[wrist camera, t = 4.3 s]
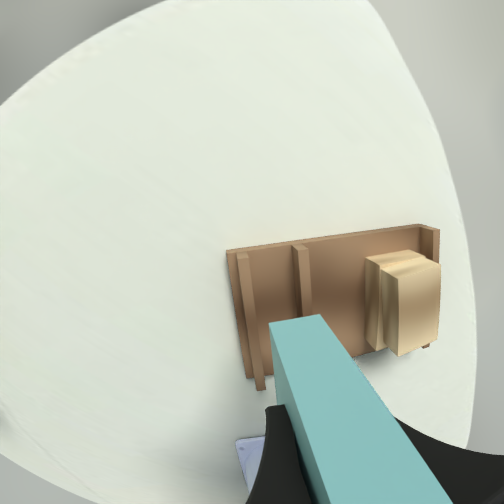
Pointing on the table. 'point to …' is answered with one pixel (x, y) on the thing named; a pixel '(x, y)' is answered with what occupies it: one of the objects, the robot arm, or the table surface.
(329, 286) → the walnut rack
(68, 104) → the table surface
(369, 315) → the lower oak offcut
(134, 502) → the table surface
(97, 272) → the table surface
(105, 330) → the table surface
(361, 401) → the teal block
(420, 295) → the upper oak offcut
